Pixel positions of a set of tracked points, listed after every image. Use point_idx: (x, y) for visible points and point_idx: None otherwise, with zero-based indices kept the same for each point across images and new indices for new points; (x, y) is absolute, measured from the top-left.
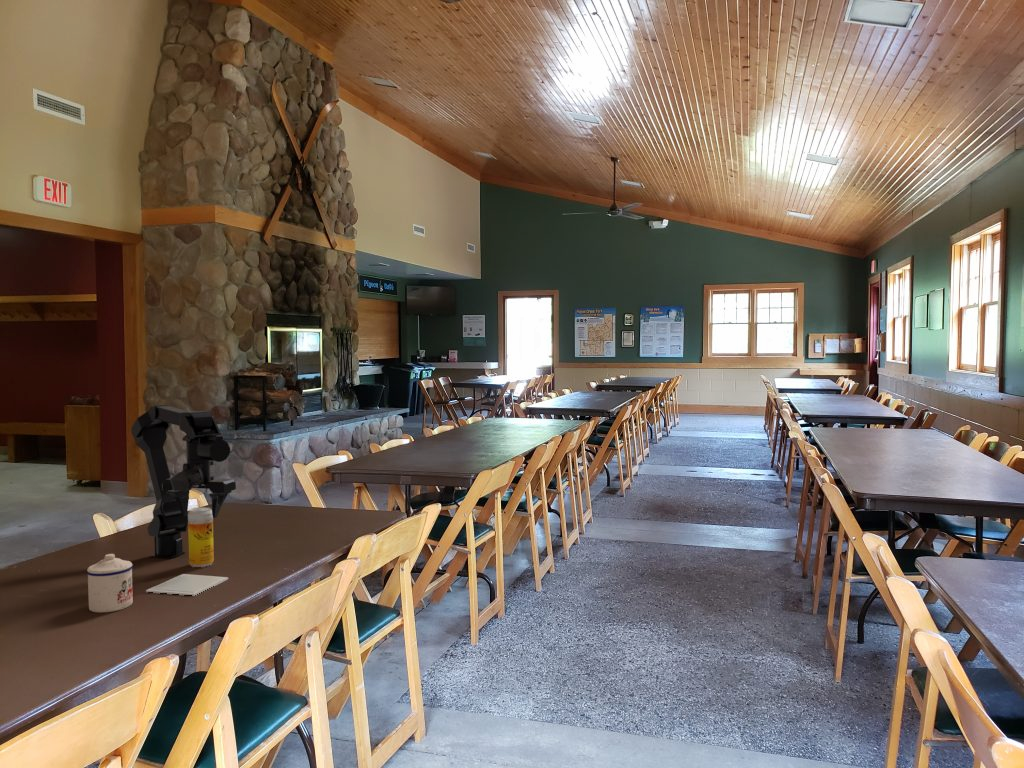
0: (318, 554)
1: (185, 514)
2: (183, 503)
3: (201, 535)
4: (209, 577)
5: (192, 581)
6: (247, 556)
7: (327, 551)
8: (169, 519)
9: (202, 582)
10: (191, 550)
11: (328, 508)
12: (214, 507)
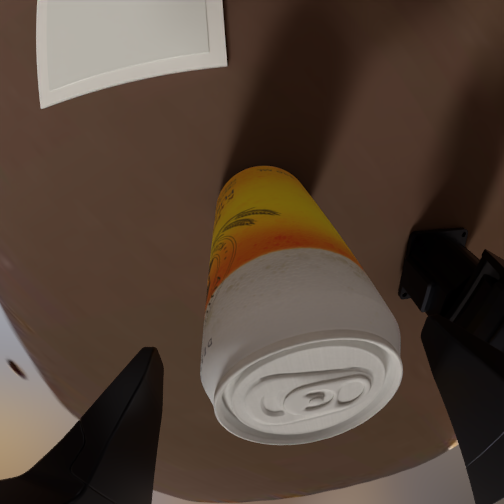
0: (48, 366)
1: (427, 335)
2: (479, 392)
3: (229, 230)
4: (89, 71)
5: (116, 13)
6: (183, 326)
7: (55, 383)
8: (493, 313)
9: (76, 25)
10: (282, 182)
11: (276, 498)
12: (94, 414)
